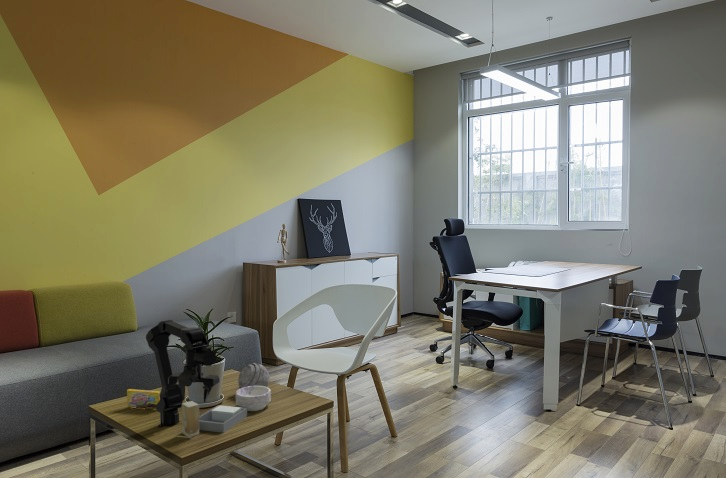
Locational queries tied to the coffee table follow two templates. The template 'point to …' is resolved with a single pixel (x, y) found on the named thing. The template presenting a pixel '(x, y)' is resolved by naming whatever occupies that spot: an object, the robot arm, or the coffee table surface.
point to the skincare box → (190, 419)
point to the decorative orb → (253, 376)
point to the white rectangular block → (224, 412)
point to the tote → (220, 426)
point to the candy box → (143, 398)
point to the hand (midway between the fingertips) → (194, 401)
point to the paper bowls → (253, 397)
